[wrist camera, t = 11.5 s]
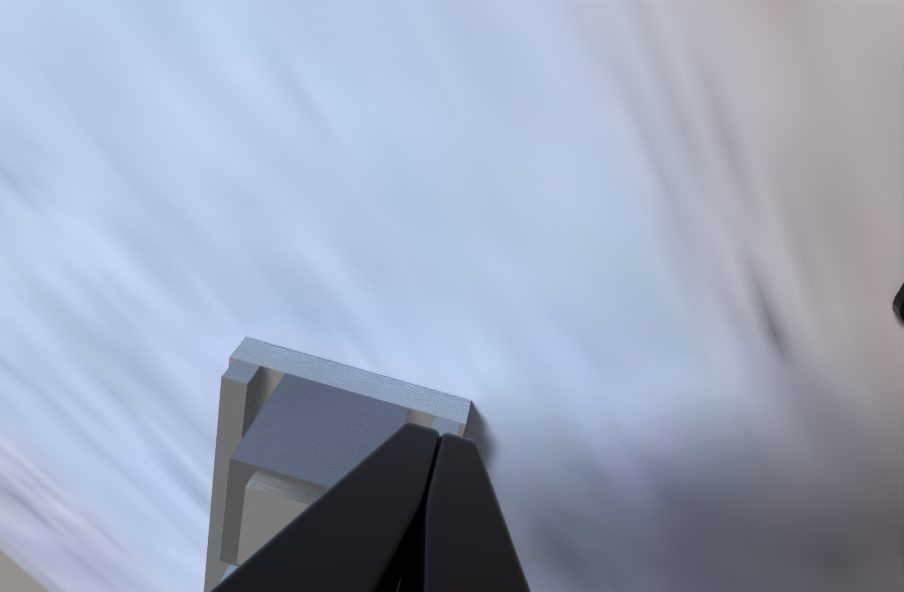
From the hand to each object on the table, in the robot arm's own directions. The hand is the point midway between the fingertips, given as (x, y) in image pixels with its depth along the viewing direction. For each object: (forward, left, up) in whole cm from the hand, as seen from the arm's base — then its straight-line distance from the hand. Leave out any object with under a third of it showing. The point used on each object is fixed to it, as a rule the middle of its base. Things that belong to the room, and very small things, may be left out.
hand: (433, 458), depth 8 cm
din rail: (+3, +16, -12) cm, 21 cm away
